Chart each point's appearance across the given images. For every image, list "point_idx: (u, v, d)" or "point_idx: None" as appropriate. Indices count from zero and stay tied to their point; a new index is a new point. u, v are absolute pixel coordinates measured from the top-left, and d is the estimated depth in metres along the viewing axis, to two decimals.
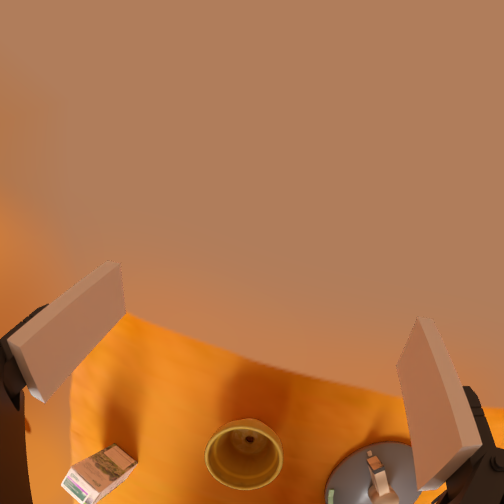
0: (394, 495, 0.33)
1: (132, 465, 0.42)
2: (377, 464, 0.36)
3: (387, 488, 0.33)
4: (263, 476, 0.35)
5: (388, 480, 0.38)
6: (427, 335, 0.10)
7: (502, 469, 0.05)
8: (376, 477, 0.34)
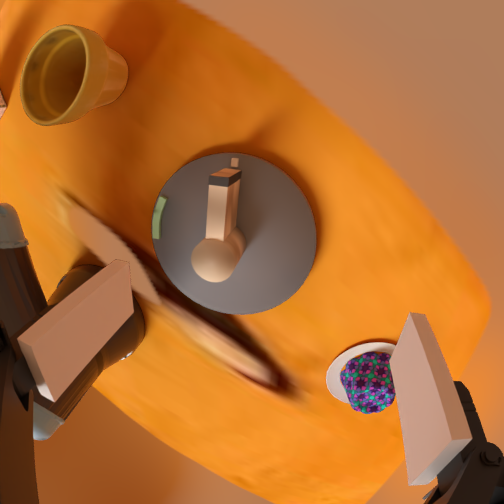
0: (228, 252, 0.27)
1: None
2: (225, 173, 0.27)
3: (221, 229, 0.27)
4: None
5: (248, 234, 0.32)
6: (419, 330, 0.11)
7: (493, 463, 0.05)
8: (210, 193, 0.26)
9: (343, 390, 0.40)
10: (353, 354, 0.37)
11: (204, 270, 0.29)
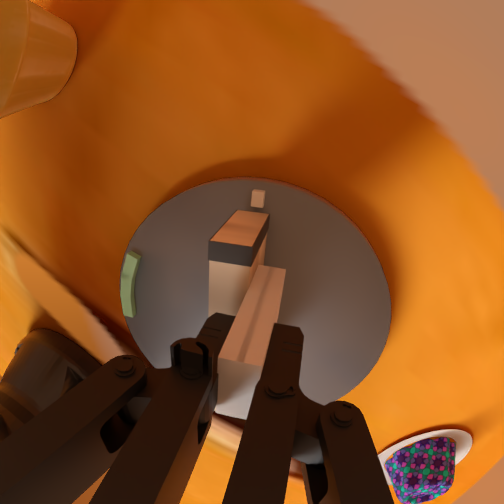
0: None
1: None
2: (242, 231, 0.13)
3: None
4: None
5: (279, 319, 0.19)
6: (267, 280, 0.13)
7: (284, 395, 0.08)
8: (213, 277, 0.13)
9: (387, 474, 0.26)
10: (403, 444, 0.24)
11: None
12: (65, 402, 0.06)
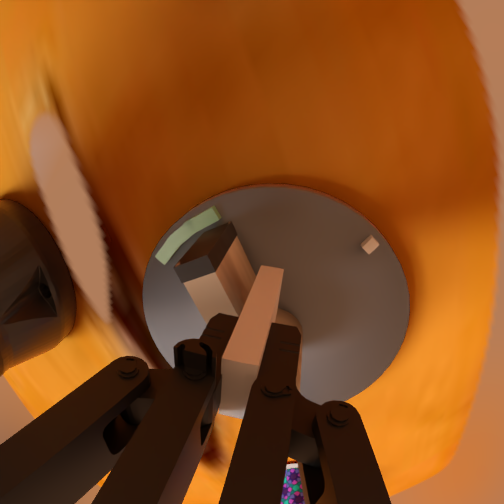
0: None
1: None
2: (203, 246, 0.14)
3: None
4: None
5: (305, 337, 0.20)
6: (265, 279, 0.13)
7: (280, 394, 0.08)
8: (194, 295, 0.14)
9: None
10: None
11: None
12: (68, 403, 0.06)
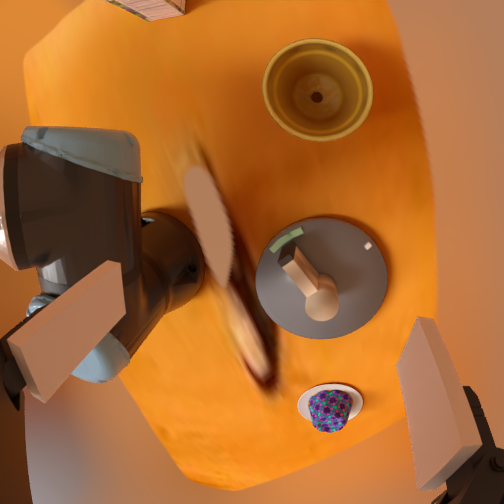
0: (326, 294, 0.36)
1: (179, 9, 0.31)
2: (285, 252, 0.37)
3: (311, 285, 0.36)
4: (299, 129, 0.29)
5: (337, 290, 0.42)
6: (427, 335, 0.10)
7: (502, 469, 0.05)
8: (287, 271, 0.36)
9: (306, 408, 0.53)
10: (326, 388, 0.50)
11: (321, 315, 0.37)
12: None
